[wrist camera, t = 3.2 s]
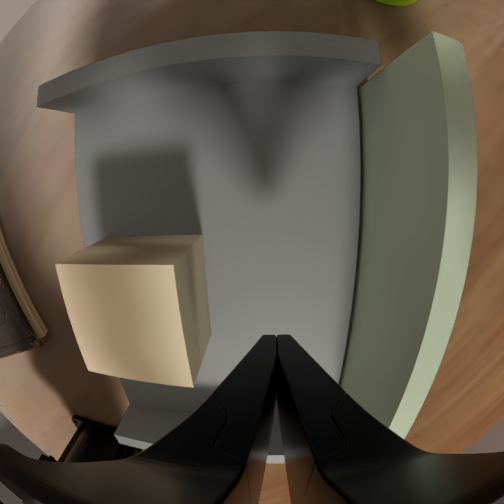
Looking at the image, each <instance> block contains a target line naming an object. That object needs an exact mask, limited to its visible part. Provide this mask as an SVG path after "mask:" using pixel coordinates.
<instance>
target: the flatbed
mask: <svg viewBox="0 0 504 504" xmlns="http://www.w3.org/2000/svg"><path fill="white" fill-rule="evenodd" d="M381 65H382V64H381V58H380V51H379V45H378V41H377V40H371V39H366V38H360V37H353V36H346V35H337V34H328V33H316V32H299V31H254V32H236V33H224V34H215V35H207V36H199V37H192V38H186V39H180V40H175V41H170V42H165V43H160V44H156V45H151V46H147V47H143V48H139V49H136V50H132V51H128V52H125V53H121V54H118V55H115V56H112V57H109V58H106V59H103V60H100V61H97V62H94V63H91V64H89V65H86V66H83V67H81V68H78V69H76V70H73V71H71V72H68V73H66V74H64V75H61V76H59V77H57V78H55V79H53V80H50V81H48V82H46V83H44V84H42V85H40V86H39V88H38V98H37V107H40V108H46V109H52V110H58V111H64V112H69V113H75V161H76V180H77V193H78V204H79V213H80V221H81V228H82V235H83V242H84V248H86V247H88V246H90V245H92V244H94V243H96V242H98V241H100V240H102V239H104V238H109V237H135V236H165V235H202V236H203V249H204V262H205V273H206V284H207V295H208V305H209V314H210V323H211V332H212V334H211V337H210V340H209V343H208V346H207V349H206V352H205V355H204V358H203V361H202V364H201V367H200V370H199V373H198V376H197V379H196V382H195V385H194V388H192V387H182V386H173V385H165V384H157V383H150V382H144V381H137V380H131V379H126V378H120V377H119V378H120V380H121V383H122V385H123V388H124V390H125V393H126V395H127V398H128V400H129V403H130V405H129V407H128V409H127V410H126V412H125V414H124V416H123V418H122V420H121V422H120V424H119V426H118V428H117V430H116V431H115V433H114V435H115V437H116V439H117V440H118V442H119V443H121V444H124V445H128V446H132V447H136V448H140V449H147V448H148V447H149V446H151V445H152V444H154V443H155V442H156V441H158V440H159V439H160V438H162V437H163V436H164V435H166V434H167V433H168V432H170V431H171V430H172V429H174V428H175V427H176V426H177V425H179V424H180V423H181V422H182V421H184V420H185V419H186V418H187V417H188V416H189V415H191V414H192V413H193V412H194V411H195V410H196V409H197V408H198V407H199V406H200V405H201V404H202V403H203V402H204V401H205V400H206V399H207V398H208V396H209V395H211V393H212V392H213V391H214V390H215V389H216V388H217V387H218V386H219V385H220V384H221V382H222V381H223V380H224V379H225V378H226V377H227V376H228V375H229V373H230V372H231V371H232V370H233V369H234V368H235V367H236V366H237V364H238V363H239V362H240V361H241V360H242V359H243V357H244V356H245V355H246V354H247V353H248V352H249V350H250V349H251V348H252V347H253V346H254V345H255V343H256V342H257V341H258V340H259V339H260V337H261V336H262V335H276V338H277V335H279V334H290V335H291V336H292V337H293V338H294V339H295V340H296V341H297V342H298V343H299V344H300V345H301V346H302V347H303V348H304V349H305V350H306V351H307V352H308V354H309V355H310V356H311V357H312V358H313V359H314V360H315V361H316V362H317V363H318V364H319V365H320V366H321V367H322V368H323V369H324V370H325V371H326V372H327V373H328V374H329V375H330V376H331V377H332V378H333V379H334V380H335V381H336V382H337V383H338V384H339V379H340V375H341V369H342V364H343V359H344V353H345V348H346V342H347V335H348V329H349V322H350V315H351V308H352V300H353V292H354V283H355V273H356V262H357V250H358V235H359V216H360V129H359V110H358V96H357V85H359V84H360V83H361V82H362V81H363V80H364V79H365V78H367V77H368V76H369V75H370V74H371V73H372V72H374V71H375V70H376V69H377V68H378V67H379V66H381ZM266 463H285V458H284V451H283V444H282V437H281V431H280V424H279V417H278V410H277V401H276V405H275V413H274V419H273V425H272V431H271V437H270V443H269V449H268V455H267V460H266Z"/></svg>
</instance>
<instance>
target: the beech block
mask: <svg viewBox="0 0 504 504" xmlns="http://www.w3.org/2000/svg"><path fill="white" fill-rule="evenodd" d="M55 266H56V270H57V274H58V279H59V283H60V287H61V291H62V295H63V298H64V302H65V305H66V309H67V312H68V316H69V319H70V322H71V325H72V328H73V331H74V334H75V337H76V340H77V343H78V345H79V348H80V351H81V353H82V356H83V359H84V361H85V364H86V366H87V369H88V371H92V372H96V373H101V374H105V375H110V376H115V377H120V378H126V379H131V380H137V381H144V382H150V383H157V384H165V385H173V386H182V387H192V388H194V385H195V382H196V379H197V376H198V373H199V370H200V367H201V364H202V361H203V358H204V355H205V352H206V349H207V346H208V343H209V340H210V337H211V334H212V332H211V323H210V314H209V305H208V295H207V284H206V273H205V262H204V249H203V236H202V235H165V236H135V237H109V238H104V239H102V240H100V241H98V242H96V243H94V244H92V245H90V246H88V247H86V248H84V249H82V250H80V251H78V252H76V253H75V254H73V255H71V256H69V257H67V258H65V259H63V260H61V261H60V262H58V263H56V264H55Z"/></svg>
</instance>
